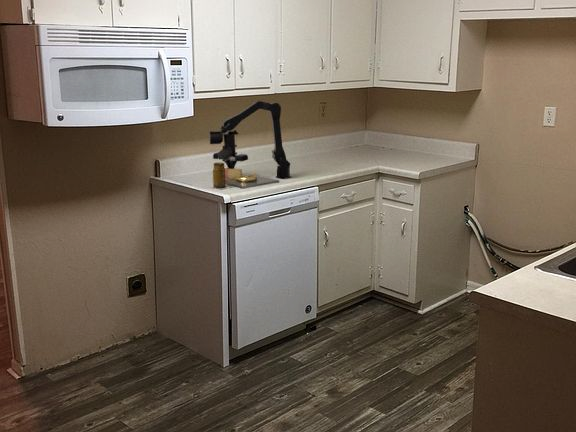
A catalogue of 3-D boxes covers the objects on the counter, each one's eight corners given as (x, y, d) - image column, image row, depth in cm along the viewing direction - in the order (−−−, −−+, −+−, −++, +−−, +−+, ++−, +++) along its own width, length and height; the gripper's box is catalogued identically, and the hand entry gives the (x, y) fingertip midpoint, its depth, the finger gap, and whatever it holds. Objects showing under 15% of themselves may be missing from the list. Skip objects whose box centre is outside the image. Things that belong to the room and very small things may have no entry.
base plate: (250, 175, 344) (250, 173, 343) (279, 182, 326) (279, 179, 326) (213, 181, 328) (213, 179, 328) (242, 188, 311) (242, 186, 311)
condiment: (220, 185, 320) (219, 161, 317) (231, 187, 314) (231, 163, 311) (209, 187, 314) (208, 163, 311) (220, 189, 309) (219, 165, 306)
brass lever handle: (224, 177, 332) (224, 167, 331) (256, 176, 334) (256, 167, 333) (225, 182, 320) (225, 172, 319) (257, 181, 322) (257, 171, 321)
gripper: (205, 144, 326) (207, 174, 331) (235, 147, 317) (236, 177, 321) (218, 141, 336) (220, 170, 340) (247, 143, 326) (249, 173, 331)
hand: (231, 172), depth 333 cm, fingers closed
